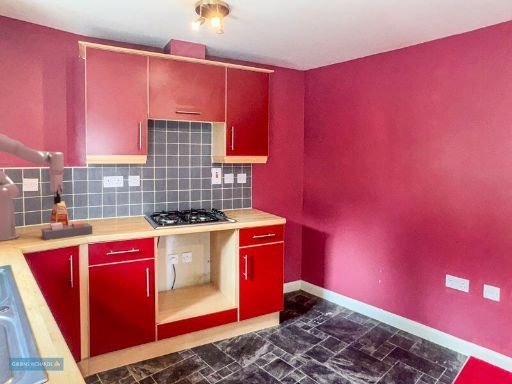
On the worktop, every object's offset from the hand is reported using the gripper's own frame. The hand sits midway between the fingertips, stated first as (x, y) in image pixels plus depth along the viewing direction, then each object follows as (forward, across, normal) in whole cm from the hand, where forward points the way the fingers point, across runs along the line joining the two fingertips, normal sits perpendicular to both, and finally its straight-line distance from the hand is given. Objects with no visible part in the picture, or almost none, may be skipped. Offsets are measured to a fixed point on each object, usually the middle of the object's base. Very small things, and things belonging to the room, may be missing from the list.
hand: (57, 203), depth 224 cm
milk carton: (+21, -17, +6) cm, 28 cm away
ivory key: (+17, +1, -1) cm, 17 cm away
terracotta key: (+18, +1, +11) cm, 21 cm away
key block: (+20, +1, +5) cm, 21 cm away
